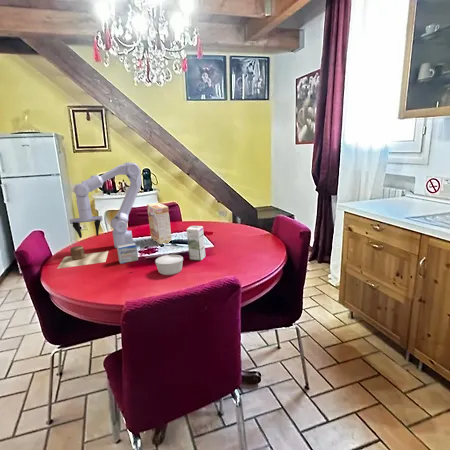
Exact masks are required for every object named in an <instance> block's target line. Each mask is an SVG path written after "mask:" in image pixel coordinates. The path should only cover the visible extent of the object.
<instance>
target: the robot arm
mask: <svg viewBox="0 0 450 450" xmlns="http://www.w3.org/2000/svg"><path fill="white" fill-rule="evenodd" d="M121 175H123V176H124V175H125V176H126V177H127V179H128V180H129V186H128V188H127V190H126V193H125V196H124V198H123V201H122V203H121V205H120V208H119V209H118V211H117V213H116V214H115V216H114V217H113V218H112V219H111V221H110V226H111V228H112V229H113V230H112V231H111V232H112V238H113V239H112V240H113V245H114V248H115V249H117V246H120V245H125V244H130V243H135V241H134V239H133V233H132V230H128V222H129V214H130V213H131V211H132V208H133V206H134V204H135V200H136V198H137V196H138V194H139V191H140V189H141V186H142V170H141V169H140V167H139V164H137V163H135V162H130V161H127V162H125V163H123V164H119V165H117V166H115V167H113V168H111V169H110V170H108V171H106V172H105V173H103V174H101V175H97V174H95V175H93V174H92V175H90V177H89V178H88V179H86V180H81V182H79V183H77V184H75V185H74V187H73V192H74V194H75V199H76V200H75V201H76V206H77V210H78V211H77V212H78V217H77V218H71V219H69V225H72V227H73V229H75V231H76V233H77V235H78V237H79V238H80V239H81V238H82V237H83V235H82V231H81V223H91V222H94V227H95V233H96V234H95V235H96V237H98V236H99V235H100V234H99V231H100V225H101V222H103V221H104V220H103V215H95V216H93V215H92V214H93V212H92V208H91V207H92V206H91V201H90V198H89V193H91V192H93V191H95V190H97V189H100V188H101V187H103V186H104V183H105V182H106V181H108V180H110V179H112V178H115V177H117V176H121Z"/></svg>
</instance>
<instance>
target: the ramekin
mask: <svg viewBox="0 0 450 450" xmlns="http://www.w3.org/2000/svg"><path fill="white" fill-rule="evenodd" d="M183 261H184V257H183V256H182V255H179V254H167V255H166V254H165V255H161V256H159V257H157V258H156V259H155V260H154V263H155V266H156V267H157V271H158V273H160V275H164V276H172V275H176V274H178V273H180V272H181V271H182V270H183Z"/></svg>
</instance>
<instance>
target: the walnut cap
mask: <svg viewBox="0 0 450 450" xmlns="http://www.w3.org/2000/svg"><path fill="white" fill-rule="evenodd" d="M85 254H86V253H85V249H84V246H82V245H78V246H73V247H70V256H72V260H80V259H83V258H85Z"/></svg>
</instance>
